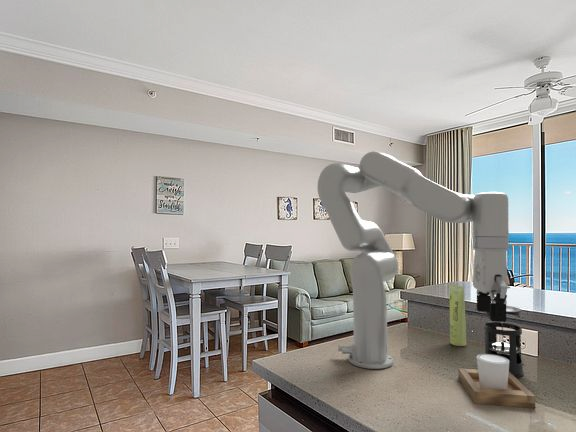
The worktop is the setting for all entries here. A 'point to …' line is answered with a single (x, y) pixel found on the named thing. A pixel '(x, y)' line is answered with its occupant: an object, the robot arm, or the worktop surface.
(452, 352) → the worktop surface
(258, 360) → the worktop surface
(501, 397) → the tray
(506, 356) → the french press
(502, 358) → the white tapered cylinder
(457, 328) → the tube
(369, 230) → the robot arm
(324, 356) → the worktop surface
